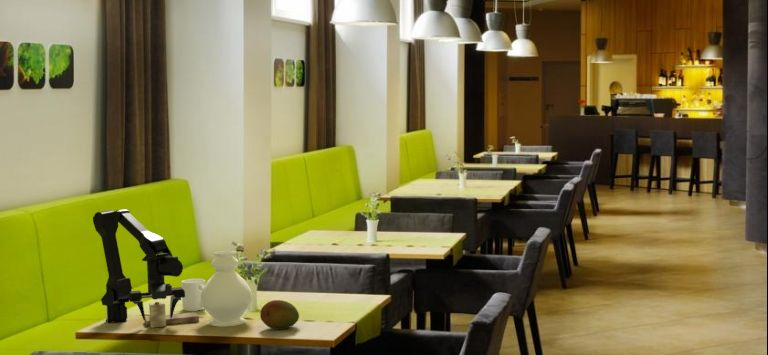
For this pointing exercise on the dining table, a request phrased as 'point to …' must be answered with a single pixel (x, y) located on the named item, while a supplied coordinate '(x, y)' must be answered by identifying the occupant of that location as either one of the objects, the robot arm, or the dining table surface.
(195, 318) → the board
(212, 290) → the decorative vase
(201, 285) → the mug
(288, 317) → the fruit
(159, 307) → the beige box with knob
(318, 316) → the dining table surface
